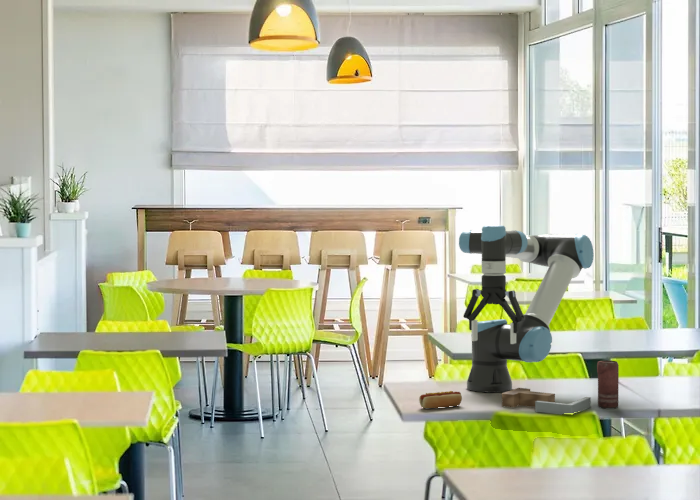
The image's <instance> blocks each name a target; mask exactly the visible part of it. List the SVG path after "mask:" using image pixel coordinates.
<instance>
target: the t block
mask: <svg viewBox="0 0 700 500" xmlns="http://www.w3.org/2000/svg"><path fill="white" fill-rule="evenodd" d="M535 401H544V402H554V403H556V394H555V393H552V392H542V391H541V392H540V391H532V390H531V388H527V387H525V388H524V387H516V388H512V390H509V391H504V392H501V407H504V406H505V407H504V408H517V407H519V406H521V407H531V408H535Z"/></svg>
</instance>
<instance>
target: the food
mask: <svg viewBox="0 0 700 500" xmlns="http://www.w3.org/2000/svg"><path fill="white" fill-rule="evenodd" d="M462 396H463V395H462V393H461V392H460V391H454V390H449V391H441V392H440V391H438V392H437V391H436V392H429V393H427V392H425V394H421V395H420V396H419V399H418V401H419V402H418V403H419V405H420V407H421V408H422V407H423V408H422V409H424V408H438V407H449V406H456V407H458V406H457V405H459V406H460V405H461V403H462V400H463V397H462Z"/></svg>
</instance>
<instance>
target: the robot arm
mask: <svg viewBox="0 0 700 500" xmlns="http://www.w3.org/2000/svg"><path fill="white" fill-rule="evenodd" d="M506 229H507V228H506V227H505V225H498V224H497V225H493V224H492V225H483V226H482V228H481V230H473V229H470V230H463V231H462V232H461V233H460V234H459V238H458V247H459V249H460V251H461V252H462V253H466V254H477V255H478V254H480V255H481V274H482V276H481V290H480V289H479V288H475V289H472V293H471V297H470V300H469V303H468V304H467V306H466V309H465V311H464V313H463V318H464V319H466V320H468V322H469V323H468V328H469V331H471V368H470V370H469V375H468V378H467V380H466V389H467V390H468V391H469V390H470V391H474V392H477V393H478V392H479V393H500V392H501V393H505V392H508V391H510V390H513V381H512V378H511V375H510V372H509V368H508V360H511V361H517V362H518V361H519V362H525V363H540V362H542V361H543V360H544V359H546V358H547V357H548V355H549V353H550V351H551V350H552V349H551V348H552V343H553V336H552V332H551V328H550V323H551V321H552V319H553V318H554V316H555V313H556V311H557V310H558V309H559V308H558V307H559V305H560V304H561V301H562V300H563V297H564V296H565V293H566V291H567V289H568V287H569V285H570V283H571V281H572V279H574V278H577V277H578V276H579V275H580V273H581V271H582V269H584V270H585V269H589V268H591V267H592V265H593V261H594V246H593V243H592V241H591V238H589V237H588V236H587V235H586V234H578V233H574V234H568V233H567V234H565V233H563V234H559V233H546V234H543V233H542V234H532V235H531V234H525V233H524V232H523V231H520V230H506ZM506 258H513V259H518V260H520V261H521V262H524V263H529V264H533V265H538V266H542V267H548V269H547V270H546V273H545V274H544V276H543V278H542V280H541V283H540V284H539V286H538V288H537V290H536V292H535V294H534V296H533V298H532V299H531V301H530V304H528V305H529V306H528V308H527V309H526V312H525V313H523V310H522V308H521V307H520V304H519V302H518V300H517V297H516V295H517V294H516V291H515V290H514V289H513V290H508V291H507V290H506V286H507V284H506V283H507V281H506V280H507V279H506V275H505V274H506V273H507V271H506V270H507V268H506V267H507V266H506V265H507V264H506V260H507V259H506ZM480 296H481V297H482V299H481V300H480V302H479V303H478V305H477V302H478V300H479V297H480ZM506 297H507V298H508V299H509V302H510V304H511V306H510V305H509V303H508V301H507V300H506ZM476 305H477V306H476ZM487 305H499V307H501V308H502V309H503V311H504V312H505V313H506V314H507V316H508V317H509V319H510V320H511V321H512V322H510V324H509V323H508V321H507V319H503V318H502V319H501V318H500V319H491V320H490V319H489V320H482V321H478V319H477V317H478V316H479V314H480V313H481V312H482V311H483V309H484V308H485V307H486V306H487ZM475 306H476V307H475Z"/></svg>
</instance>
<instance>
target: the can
mask: <svg viewBox="0 0 700 500" xmlns="http://www.w3.org/2000/svg"><path fill="white" fill-rule="evenodd" d="M619 369H620V368H619V363H618V361H616V360H609V359H608V360H599V361H597V364H596V372H597V406H598V408H600V407H601V409H606V408H614V409H617V408H618V407H619V381H620V380H619V371H620V370H619ZM616 407H617V408H616Z"/></svg>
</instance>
